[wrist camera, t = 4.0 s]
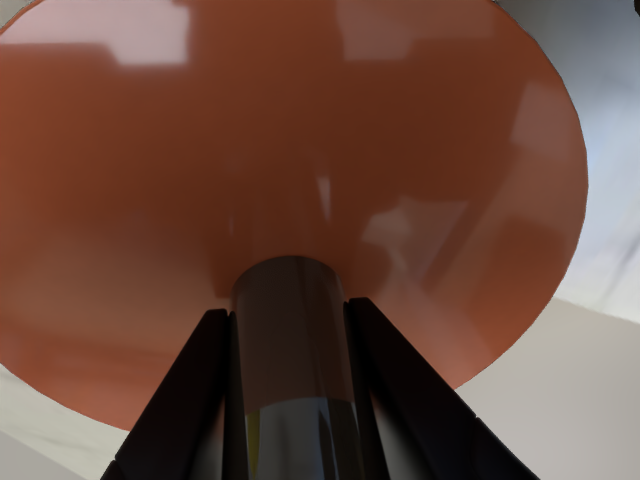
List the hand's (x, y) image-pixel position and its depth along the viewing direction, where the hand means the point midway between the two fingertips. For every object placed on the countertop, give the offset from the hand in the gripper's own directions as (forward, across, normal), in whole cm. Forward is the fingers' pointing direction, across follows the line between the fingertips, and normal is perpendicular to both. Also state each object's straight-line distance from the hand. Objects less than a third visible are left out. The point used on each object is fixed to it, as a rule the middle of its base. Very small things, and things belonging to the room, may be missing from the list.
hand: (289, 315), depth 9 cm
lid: (+1, 0, 0) cm, 1 cm away
